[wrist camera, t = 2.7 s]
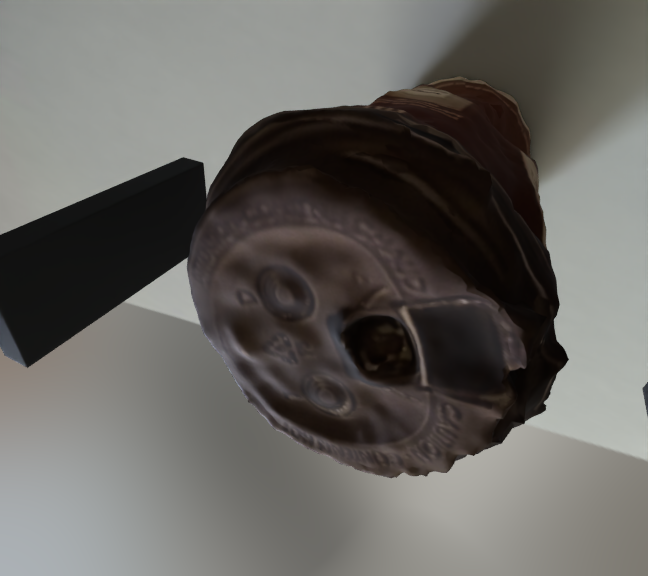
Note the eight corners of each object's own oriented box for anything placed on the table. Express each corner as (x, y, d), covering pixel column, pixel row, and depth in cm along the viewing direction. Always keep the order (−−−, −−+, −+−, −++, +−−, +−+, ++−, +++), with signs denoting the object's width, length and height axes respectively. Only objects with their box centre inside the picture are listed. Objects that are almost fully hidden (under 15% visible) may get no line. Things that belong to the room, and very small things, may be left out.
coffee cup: (628, 107, 15) (751, 339, 5) (496, 281, 20) (434, 553, 10) (401, 9, 16) (152, 44, 6) (335, 197, 21) (146, 371, 12)
